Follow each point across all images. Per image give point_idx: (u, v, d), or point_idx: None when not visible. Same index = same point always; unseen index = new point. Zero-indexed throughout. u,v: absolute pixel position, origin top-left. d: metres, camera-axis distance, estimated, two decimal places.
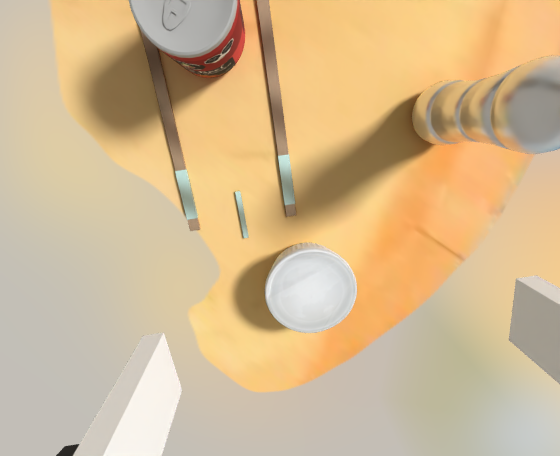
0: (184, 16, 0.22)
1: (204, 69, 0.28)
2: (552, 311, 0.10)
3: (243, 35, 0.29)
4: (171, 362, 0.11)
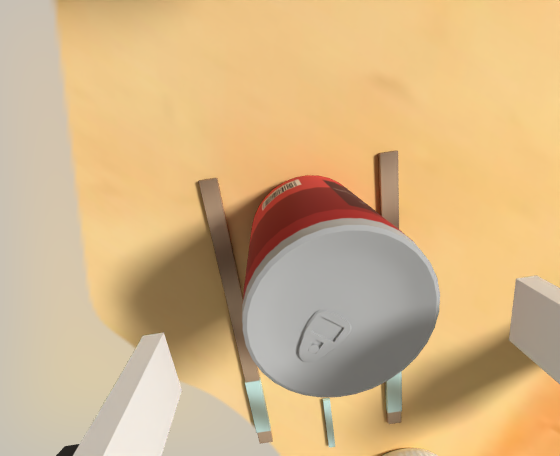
0: (336, 343, 0.12)
1: None
2: (552, 311, 0.10)
3: None
4: (171, 362, 0.11)
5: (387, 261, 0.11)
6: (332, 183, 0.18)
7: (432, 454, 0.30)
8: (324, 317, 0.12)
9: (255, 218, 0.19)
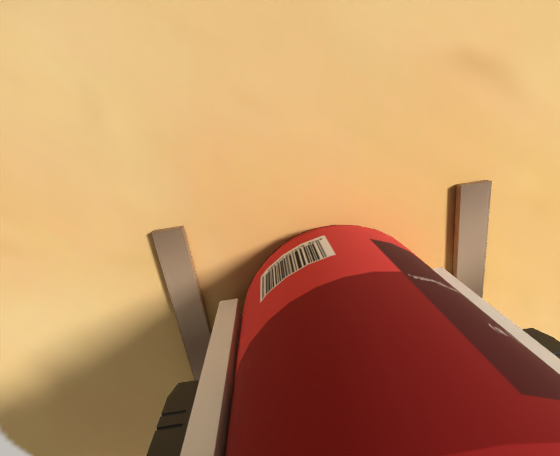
0: None
1: None
2: None
3: None
4: None
5: None
6: (392, 250, 0.09)
7: None
8: None
9: (248, 305, 0.11)
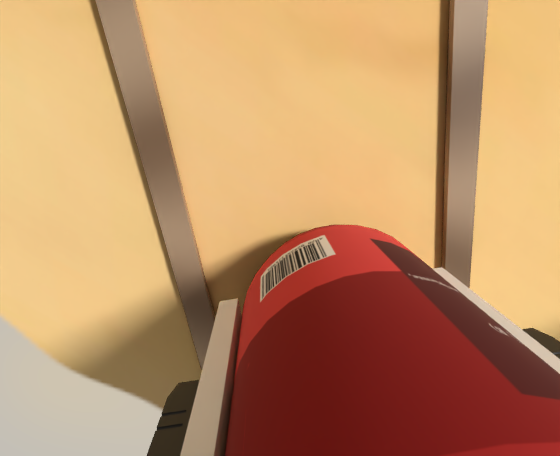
0: None
1: None
2: None
3: None
4: None
5: None
6: (392, 249, 0.09)
7: None
8: None
9: (248, 305, 0.11)
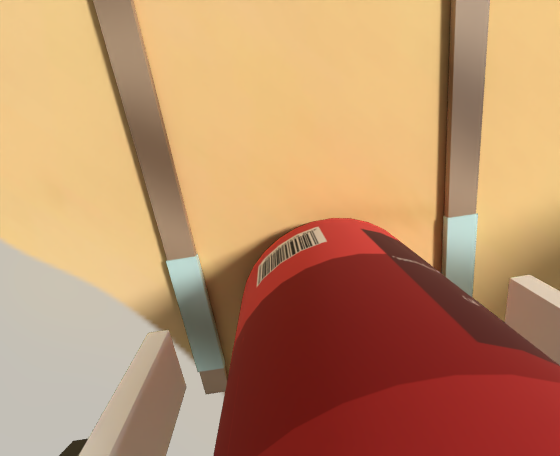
0: None
1: None
2: (544, 309, 0.10)
3: None
4: (176, 359, 0.11)
5: None
6: (381, 238, 0.10)
7: None
8: None
9: (246, 292, 0.11)
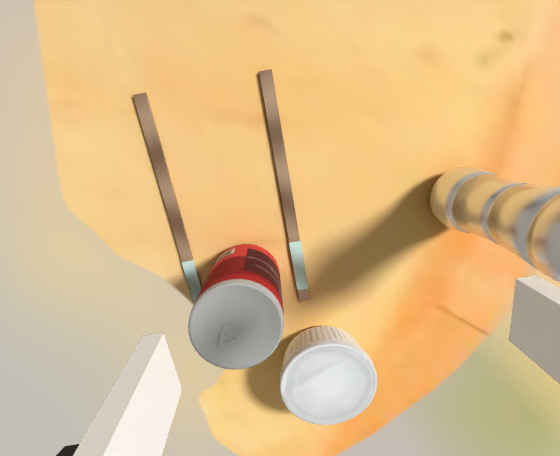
0: (237, 340, 0.25)
1: None
2: (552, 311, 0.10)
3: None
4: (171, 362, 0.11)
5: (254, 298, 0.24)
6: (252, 251, 0.31)
7: (338, 328, 0.37)
8: (228, 326, 0.24)
9: None
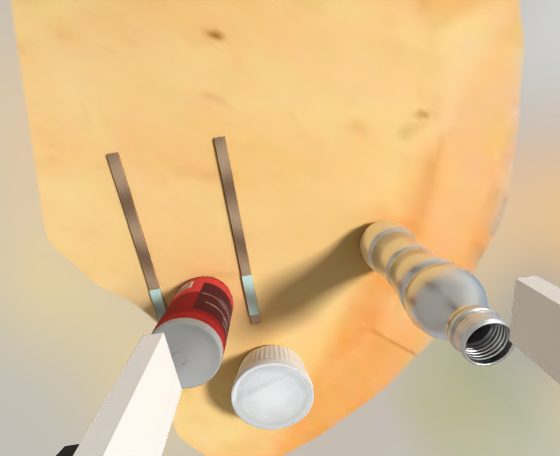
0: (185, 365, 0.31)
1: None
2: (552, 311, 0.10)
3: None
4: (171, 362, 0.11)
5: (198, 333, 0.30)
6: (207, 285, 0.37)
7: (285, 348, 0.43)
8: (178, 355, 0.30)
9: None
